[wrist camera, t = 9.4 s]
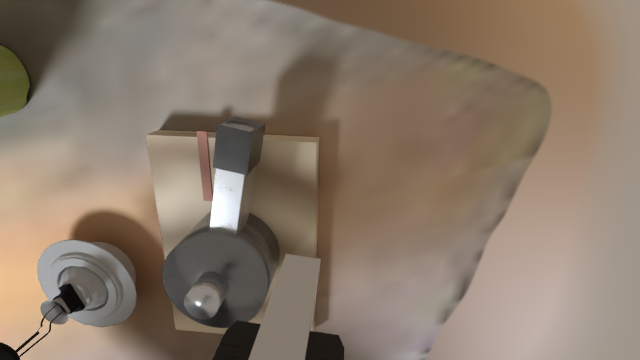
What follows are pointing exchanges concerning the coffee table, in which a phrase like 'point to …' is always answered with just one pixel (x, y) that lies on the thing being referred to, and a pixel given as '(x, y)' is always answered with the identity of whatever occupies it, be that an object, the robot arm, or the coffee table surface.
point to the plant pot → (12, 83)
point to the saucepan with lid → (226, 239)
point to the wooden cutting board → (266, 202)
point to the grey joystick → (83, 286)
